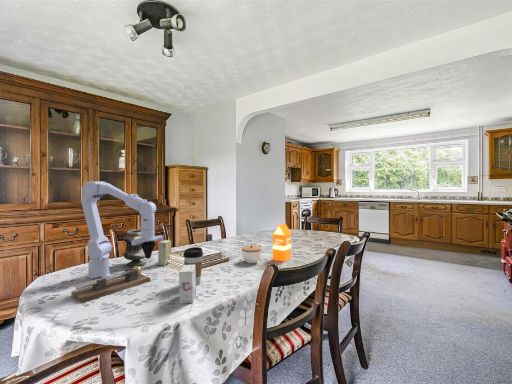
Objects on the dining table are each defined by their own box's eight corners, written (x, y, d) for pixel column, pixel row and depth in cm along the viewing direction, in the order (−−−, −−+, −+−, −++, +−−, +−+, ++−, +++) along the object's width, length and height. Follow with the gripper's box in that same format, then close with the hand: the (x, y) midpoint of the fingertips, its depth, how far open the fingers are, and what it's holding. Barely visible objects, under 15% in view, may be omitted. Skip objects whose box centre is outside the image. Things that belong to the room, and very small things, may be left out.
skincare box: (165, 265, 141) (165, 242, 140) (157, 265, 141) (157, 242, 141) (171, 262, 147) (171, 240, 146) (164, 261, 148) (164, 239, 147)
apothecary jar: (133, 269, 135) (133, 233, 134) (118, 265, 140) (118, 231, 140) (153, 263, 145) (153, 230, 144) (138, 259, 151) (138, 228, 150)
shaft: (74, 291, 101) (73, 280, 101) (136, 274, 121) (136, 264, 121) (78, 294, 99) (78, 282, 99) (141, 276, 118) (141, 266, 118)
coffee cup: (206, 281, 119) (206, 247, 119) (196, 288, 111) (196, 252, 111) (190, 279, 122) (190, 246, 121) (179, 285, 114) (179, 250, 113)
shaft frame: (71, 295, 103) (71, 281, 103) (138, 276, 125) (138, 264, 125) (82, 302, 97) (81, 287, 97) (150, 281, 119) (150, 268, 119)
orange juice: (291, 257, 158) (291, 223, 157) (284, 261, 150) (284, 225, 149) (279, 255, 162) (279, 222, 161) (272, 259, 154) (272, 224, 154)
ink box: (183, 293, 106) (183, 264, 105) (196, 293, 106) (196, 263, 106) (178, 303, 97) (178, 271, 97) (192, 303, 98) (192, 271, 97)
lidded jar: (264, 262, 148) (265, 245, 147) (248, 265, 142) (248, 248, 141) (254, 257, 157) (254, 242, 156) (238, 260, 151) (238, 244, 150)
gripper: (137, 231, 114) (137, 263, 115) (166, 227, 126) (166, 256, 126) (128, 229, 119) (129, 260, 119) (158, 225, 130) (158, 253, 131)
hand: (147, 258), depth 123 cm, fingers closed
